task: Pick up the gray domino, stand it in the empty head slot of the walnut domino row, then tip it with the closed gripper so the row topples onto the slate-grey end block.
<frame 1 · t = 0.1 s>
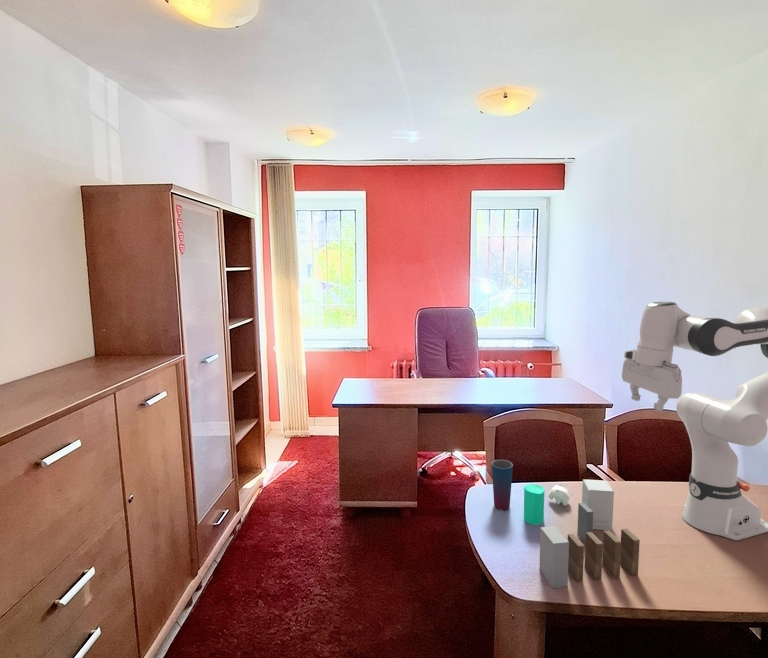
hand: (646, 404, 129), 39 cm above the table, tool pointing down, fingers open, 8 cm apart
domino 3: (610, 571, 116), on the table
candle: (533, 520, 141), on the table
end block: (553, 577, 115), on the table
supplement box: (596, 523, 138), on the table
domino 2: (628, 569, 117), on the table
cup: (501, 506, 149), on the table
elephant figurine: (560, 503, 150), on the table
domino 5: (574, 575, 115), on the table
domino 4: (592, 573, 116), on the table
gray domino: (584, 539, 130), on the table
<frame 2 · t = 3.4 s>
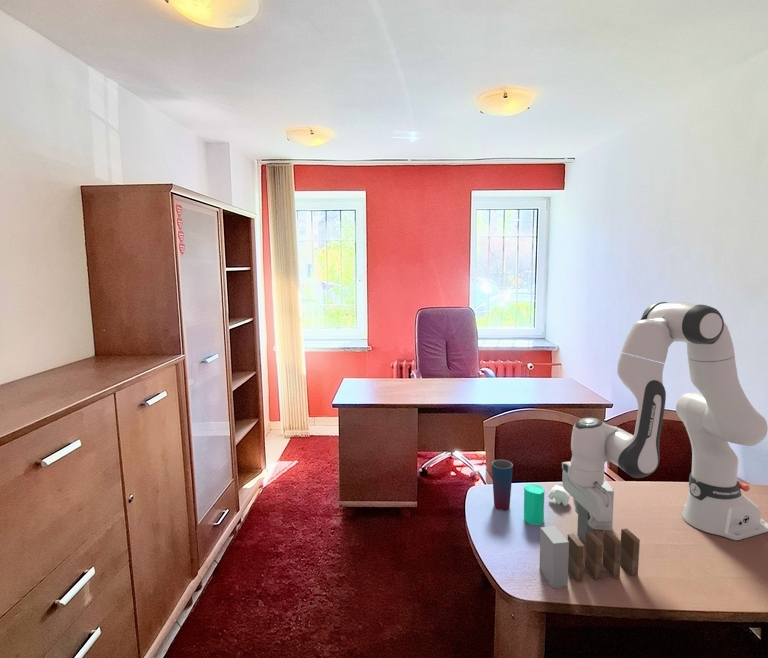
hand: (585, 519, 129), 6 cm above the table, tool pointing down, fingers closed on gray domino, 5 cm apart
gray domino: (584, 539, 130), on the table, touching gripper
everything else where it was.
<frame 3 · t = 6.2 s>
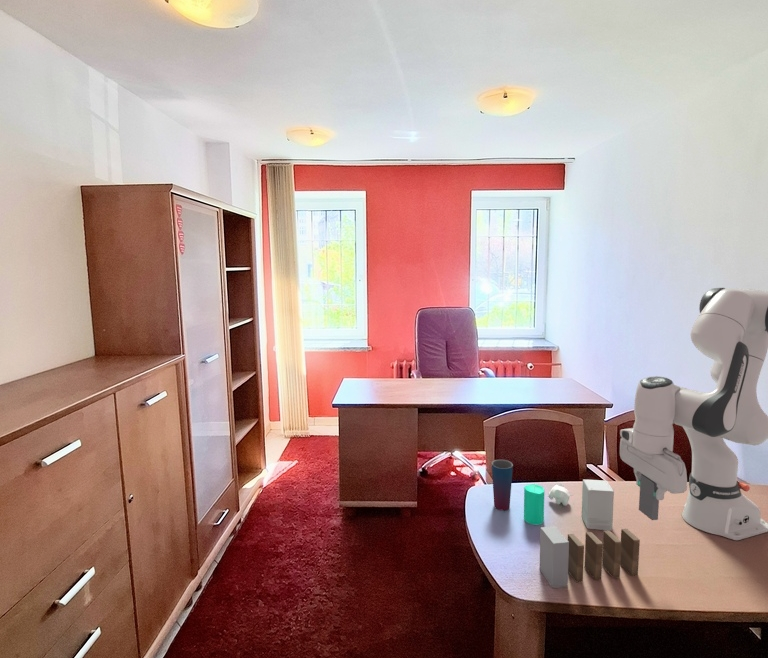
hand: (649, 492, 115), 21 cm above the table, tool pointing down, fingers closed on gray domino, 5 cm apart
gray domino: (648, 514, 116), point 15 cm above the table, touching gripper
everything else where it was.
when the fingers open (7 cm above the table, at t = 9.3 s): gray domino stays where it is, on the table.
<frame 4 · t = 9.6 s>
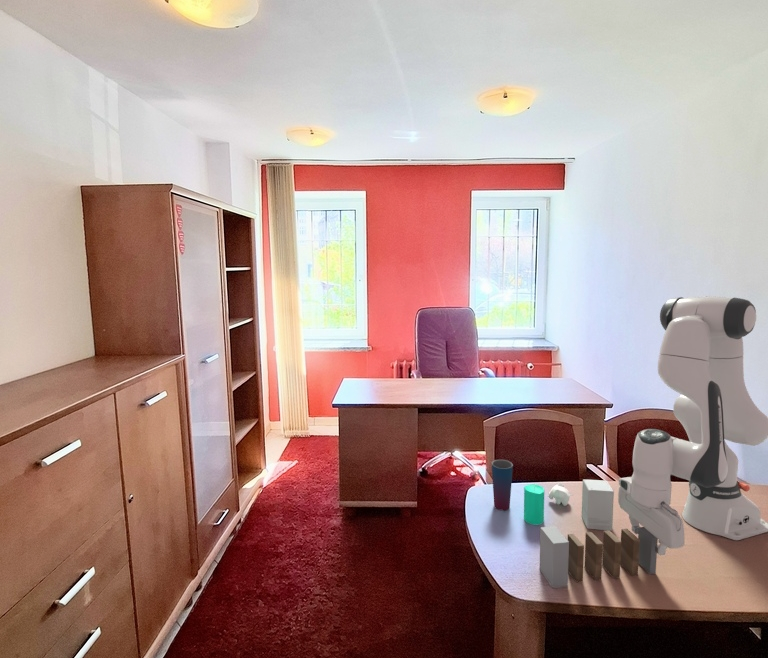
hand: (647, 542, 117), 7 cm above the table, tool pointing down, fingers open, 8 cm apart
gray domino: (646, 567, 118), on the table
everything else where it was.
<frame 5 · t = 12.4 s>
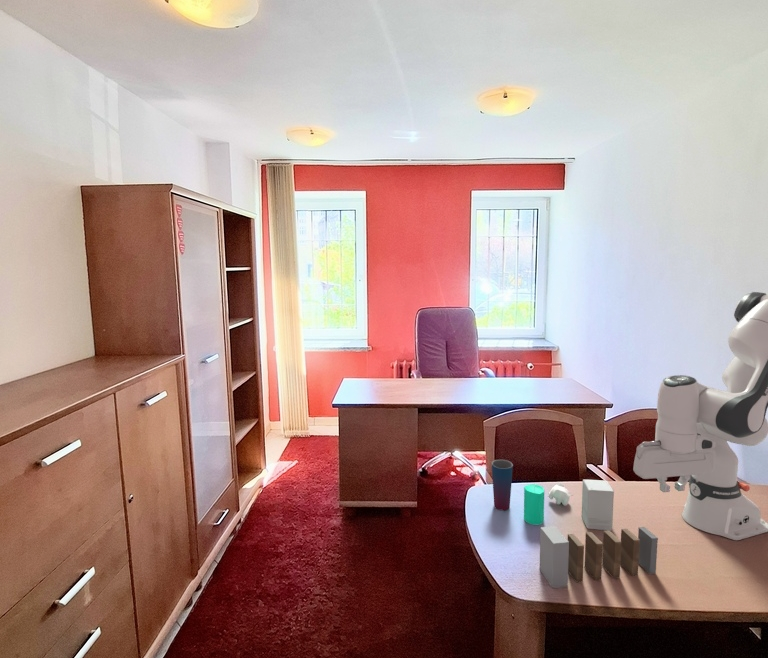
hand: (672, 490, 115), 21 cm above the table, tool pointing down, fingers open, 3 cm apart
nothing on the table moved.
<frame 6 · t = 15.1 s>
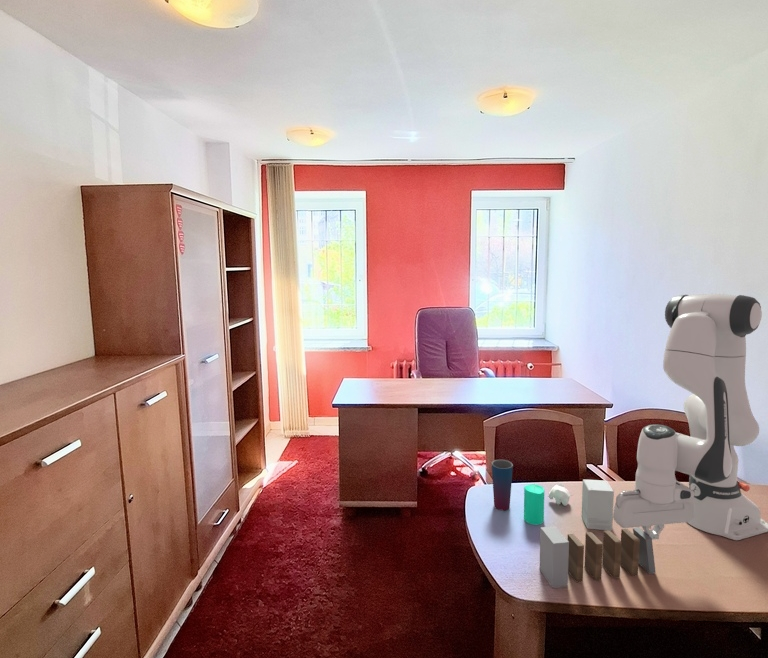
hand: (651, 538, 116), 8 cm above the table, tool pointing down, fingers closed
gray domino: (646, 567, 118), on the table, tilted 10°
everything else where it was.
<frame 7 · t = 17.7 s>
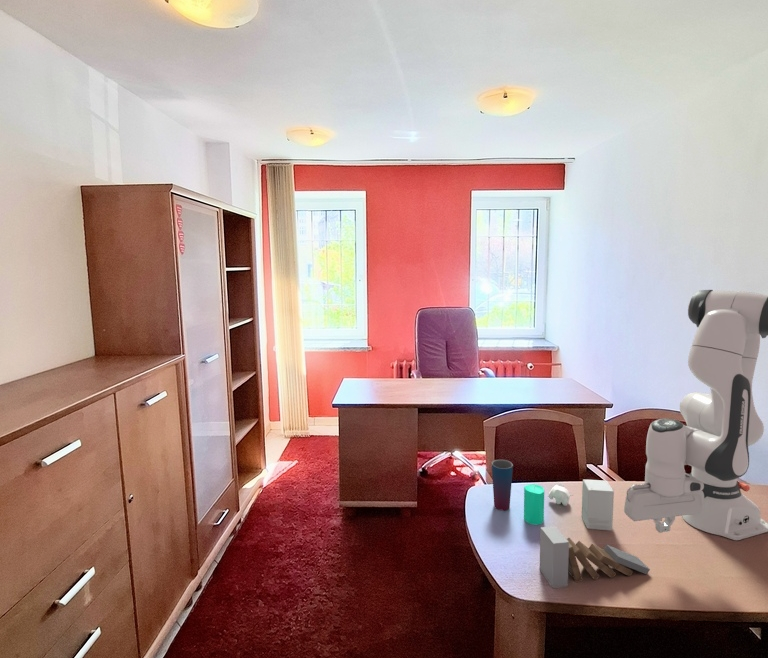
hand: (662, 530, 118), 9 cm above the table, tool pointing down, fingers closed
domino 3: (608, 569, 116), point 1 cm above the table, tilted 48°, touching domino 2, domino 4
domino 2: (625, 567, 117), point 1 cm above the table, tilted 57°, touching domino 3, gray domino
domino 5: (574, 574, 115), on the table, tilted 18°, touching domino 4, end block
domino 4: (591, 571, 116), on the table, tilted 35°, touching domino 3, domino 5
gray domino: (641, 565, 117), point 1 cm above the table, tilted 63°, touching domino 2
everything else where it was.
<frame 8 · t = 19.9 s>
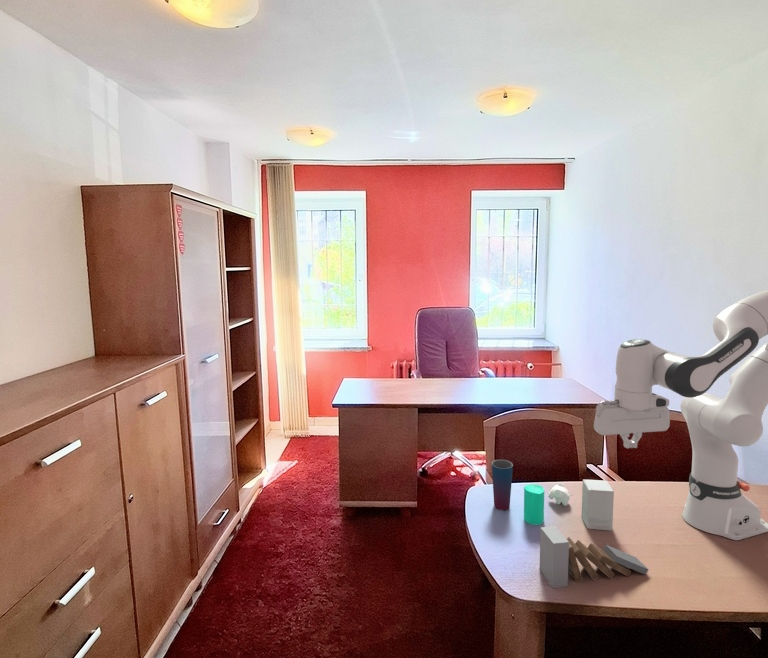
hand: (630, 447, 123), 29 cm above the table, tool pointing down, fingers closed
at the end: gray domino inside the target area (0.1 cm from its centre), point 0.7 cm above the table; gray domino tilted 63°; domino 5 tilted 18° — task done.
